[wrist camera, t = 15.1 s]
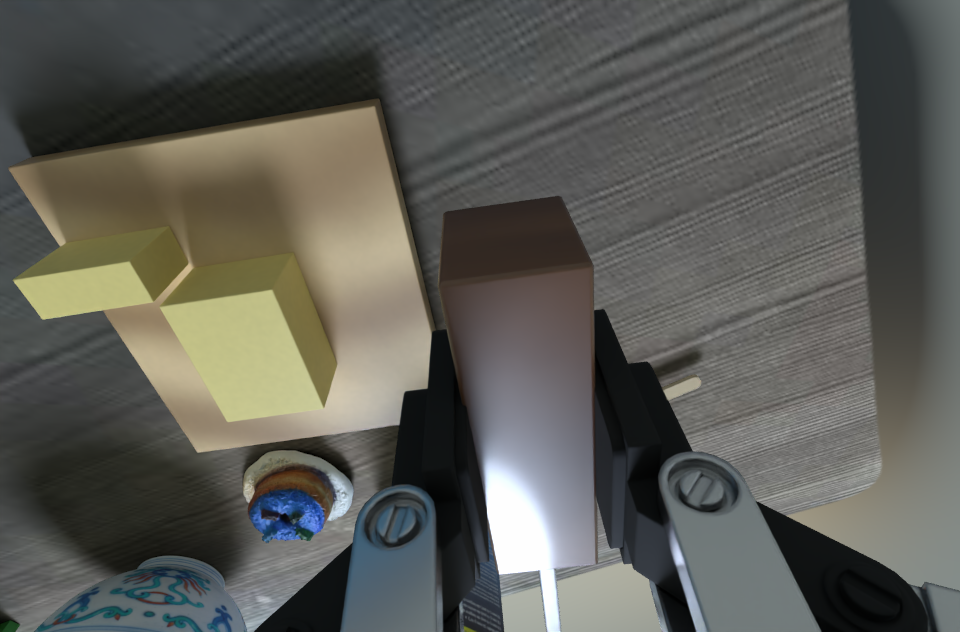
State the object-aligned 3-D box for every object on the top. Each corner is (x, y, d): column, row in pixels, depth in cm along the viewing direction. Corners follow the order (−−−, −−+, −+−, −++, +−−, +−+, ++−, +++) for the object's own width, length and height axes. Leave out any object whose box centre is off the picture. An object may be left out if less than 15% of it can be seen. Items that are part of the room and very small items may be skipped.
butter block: (193, 267, 25) (158, 306, 22) (293, 251, 25) (272, 289, 22) (250, 377, 29) (227, 422, 26) (337, 364, 28) (324, 409, 26)
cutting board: (30, 157, 23) (6, 167, 22) (379, 97, 22) (374, 105, 21) (207, 435, 33) (197, 453, 32) (452, 401, 32) (452, 418, 31)
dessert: (267, 437, 32) (295, 529, 30) (353, 427, 37) (383, 505, 35) (215, 494, 36) (235, 580, 33) (300, 478, 41) (323, 551, 39)
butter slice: (65, 242, 24) (11, 279, 21) (169, 225, 24) (128, 260, 21) (90, 279, 25) (42, 320, 22) (189, 263, 25) (154, 302, 22)
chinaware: (127, 494, 36) (56, 608, 29) (313, 571, 42) (287, 679, 36) (49, 586, 42) (-25, 698, 35) (222, 641, 48) (186, 745, 41)
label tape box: (375, 501, 37) (345, 701, 27) (412, 474, 36) (395, 674, 26) (463, 548, 41) (465, 740, 31) (499, 525, 40) (515, 718, 29)
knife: (442, 210, 10) (436, 284, 8) (561, 193, 10) (595, 263, 8) (519, 632, 20) (528, 728, 17) (582, 625, 19) (601, 721, 17)
